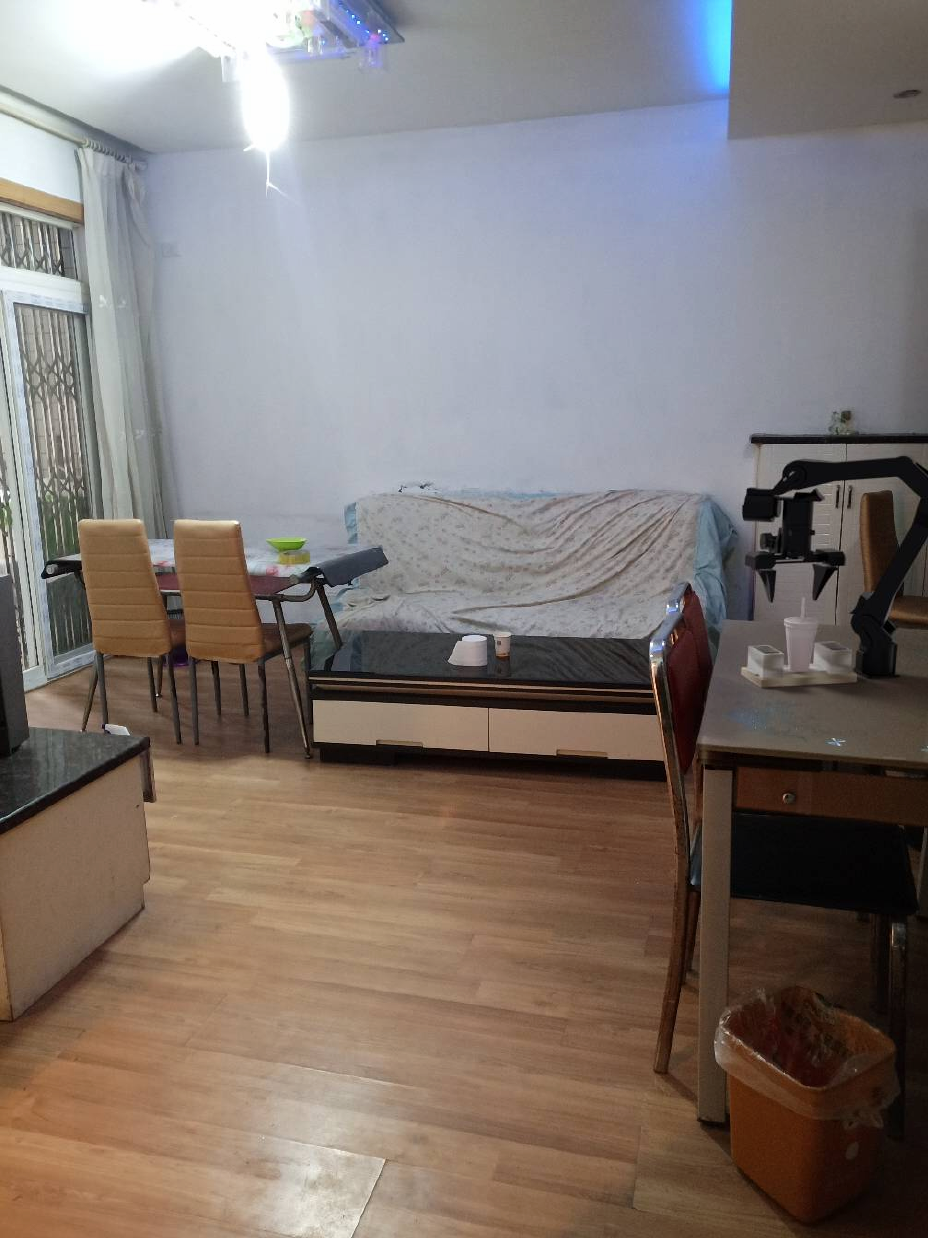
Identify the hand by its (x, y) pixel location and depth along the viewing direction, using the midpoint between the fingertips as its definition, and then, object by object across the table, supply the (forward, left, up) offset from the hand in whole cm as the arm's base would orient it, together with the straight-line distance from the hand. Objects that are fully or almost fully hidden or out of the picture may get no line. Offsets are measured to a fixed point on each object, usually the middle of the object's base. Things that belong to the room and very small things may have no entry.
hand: (792, 601), depth 195 cm
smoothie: (+3, +10, -11) cm, 15 cm away
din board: (+3, +10, -13) cm, 17 cm away
